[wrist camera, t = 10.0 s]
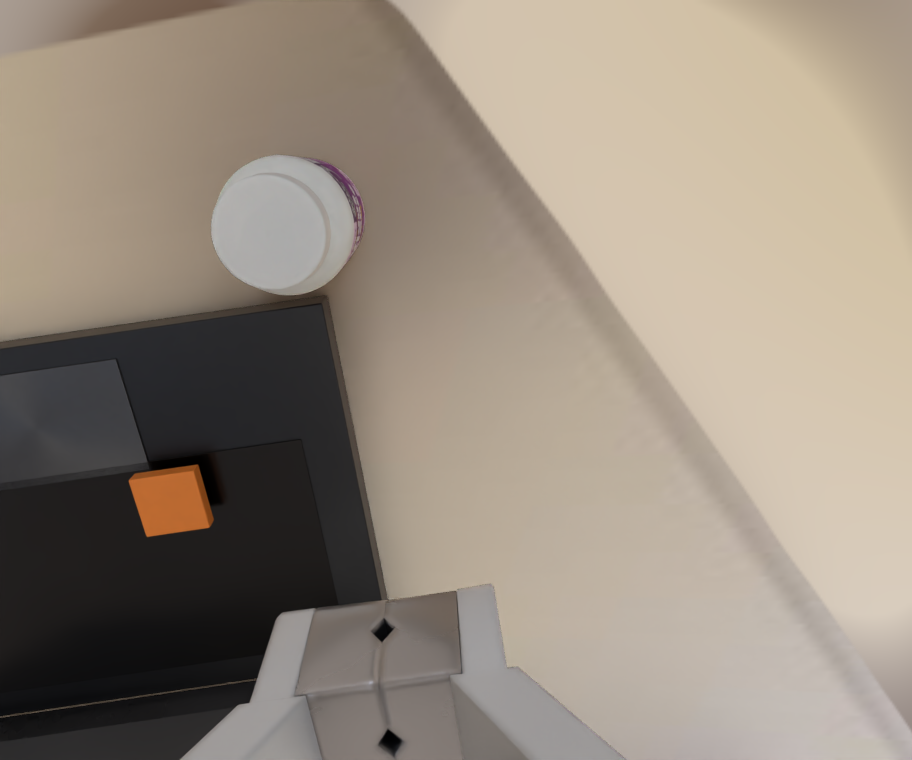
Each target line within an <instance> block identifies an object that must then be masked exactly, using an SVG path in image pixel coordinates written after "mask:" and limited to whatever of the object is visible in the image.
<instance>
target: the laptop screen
mask: <svg viewBox="0 0 912 760" xmlns="http://www.w3.org/2000/svg"><path fill="white" fill-rule="evenodd" d="M256 681H257V680H256ZM256 681H250V682H243V683H236V684H229V685H222V686H216V687H209V688H202V689H195V690H188V691H182V692H175V693H168V694H161V695H154V696H148V697H141V698H134V699H127V700H120V701H114V702H107V703H100V704H93V705H86V706H80V707H73V708H66V709H59V710H52V711H46V712H39V713H32V714H25V715H18V716H12V717H5V718H0V760H180V759H181V758H182V757H183V756H184V755H185V754H186V753H187V752H188V751H190V750H191V749H192V748H193V747H194V746H195V745H196V744H197V743H198V742H199V741H200V740H201V739H202V738H203V737H204V736H206V735H207V734H208V733H209V732H210V731H211V730H212V729H213V728H214V727H215V726H216V725H217V724H218V723H219V722H220V721H222V720H223V719H224V718H225V717H226V716H227V715H228V714H229V713H230V712H231V711H232V710H233V709H234V708H235V707H236V706H237V705H240V704H246V703H250V700H251V696H252V693H253V690H254V687H255V684H256Z"/></svg>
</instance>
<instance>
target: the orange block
mask: <svg viewBox="0 0 912 760" xmlns="http://www.w3.org/2000/svg"><path fill="white" fill-rule="evenodd" d="M129 484H130V487H131V490H132V493H133V496H134V499H135V502H136V506H137V509H138V512H139V515H140V518H141V521H142V524H143V527H144V530H145V533H146V536H147V537H150V536H157V535H164V534H170V533H177V532H184V531H191V530H198V529H205V528H209V527H210V526H211V524H212V523H213V521H214V518H213V515H212V511H211V508H210V504H209V501H208V497H207V494H206V490H205V487H204V483H203V480H202V476H201V473H200V469H199V466H198V465H191V466H184V467H177V468H170V469H163V470H156V471H149V472H142V473H135V474H134V475H133V476H132V477H131V478H130V479H129Z"/></svg>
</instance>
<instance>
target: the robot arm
mask: <svg viewBox="0 0 912 760" xmlns="http://www.w3.org/2000/svg"><path fill="white" fill-rule="evenodd" d="M180 760H626V759H625V758H624V757H623V756H622V755H621V754H619V753H618V752H617V751H616V750H615V749H614V748H612V747H611V746H610V745H609V744H608V743H607V742H605V741H604V740H603V739H602V738H601V737H600V736H598V735H597V734H596V733H595V732H594V731H593V730H591V729H590V728H589V727H588V726H587V725H586V724H584V723H583V722H582V721H581V720H580V719H579V718H577V717H576V716H575V715H574V714H573V713H572V712H570V711H569V710H568V709H567V708H566V707H565V706H563V705H562V704H561V703H560V702H559V701H558V700H556V699H555V698H554V697H553V696H552V695H551V694H549V693H548V692H547V691H546V690H545V689H544V688H542V687H541V686H540V685H539V684H538V683H537V682H535V681H534V680H533V679H532V678H531V677H530V676H528V675H527V674H526V673H525V672H524V671H523V670H521V669H520V668H519V667H510V668H507V665H506V659H505V652H504V646H503V640H502V634H501V628H500V621H499V615H498V609H497V603H496V597H495V590H494V587H493V585H492V584H485V585H479V586H473V587H467V588H461V589H457V591H450V592H443V593H436V594H429V595H422V596H415V597H408V598H400V599H393V600H381V601H372V602H363V603H354V604H346V605H337V606H328V607H319V608H317V609H315V608H312V609H305V610H297V611H289V612H282V613H281V614H280V615H279V616H278V617H277V619H276V621H275V624H274V627H273V630H272V633H271V636H270V640H269V643H268V646H267V649H266V652H265V655H264V659H263V662H262V665H261V668H260V671H259V674H258V678H257V681H256V684H255V687H254V690H253V693H252V696H251V700H250V703H246V704H240V705H237V706H236V707H235V708H234V709H233V710H232V711H231V712H230V713H229V714H228V715H227V716H226V717H225V718H224V719H223V720H222V721H220V722H219V723H218V724H217V725H216V726H215V727H214V728H213V729H212V730H211V731H210V732H209V733H208V734H207V735H206V736H204V737H203V738H202V739H201V740H200V741H199V742H198V743H197V744H196V745H195V746H194V747H193V748H192V749H191V750H190V751H188V752H187V753H186V754H185V755H184V756H183V757H182V758H181V759H180Z"/></svg>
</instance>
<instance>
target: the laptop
mask: <svg viewBox="0 0 912 760" xmlns="http://www.w3.org/2000/svg"><path fill="white" fill-rule="evenodd" d="M191 465H198V466H199V469H200V473H201V476H202V480H203V483H204V487H205V490H206V494H207V497H208V501H209V504H210V508H211V511H212V515H213V518H214V521H213V523H212V524H211V526H210V527H209V528H205V529H198V530H191V531H184V532H177V533H170V534H164V535H157V536H150V537H147V536H146V533H145V530H144V527H143V524H142V521H141V518H140V515H139V512H138V509H137V506H136V502H135V499H134V496H133V493H132V490H131V487H130V484H129V479H130V478H131V477H132V476H133V475H134V474H135V473H142V472H149V471H156V470H163V469H170V468H177V467H184V466H191ZM381 600H388V599H387V594H386V589H385V584H384V579H383V574H382V569H381V564H380V559H379V554H378V549H377V544H376V539H375V534H374V529H373V524H372V519H371V514H370V509H369V503H368V498H367V493H366V488H365V483H364V478H363V473H362V468H361V463H360V458H359V453H358V448H357V443H356V438H355V433H354V428H353V423H352V418H351V413H350V408H349V402H348V397H347V392H346V387H345V382H344V377H343V372H342V367H341V362H340V357H339V352H338V347H337V342H336V337H335V332H334V327H333V322H332V317H331V312H330V307H329V302H328V297H327V296H319V297H312V298H305V299H298V300H291V301H284V302H277V303H270V304H263V305H256V306H249V307H242V308H235V309H228V310H221V311H214V312H207V313H200V314H193V315H186V316H179V317H172V318H165V319H158V320H151V321H144V322H137V323H130V324H123V325H116V326H109V327H102V328H94V329H87V330H80V331H73V332H66V333H59V334H52V335H45V336H38V337H31V338H24V339H17V340H10V341H3V342H0V716H4V715H11V714H17V713H24V712H31V711H38V710H45V709H51V708H58V707H65V706H72V705H79V704H85V703H92V702H99V701H106V700H113V699H119V698H126V697H133V696H140V695H146V694H153V693H160V692H167V691H174V690H180V689H187V688H194V687H201V686H208V685H214V684H221V683H228V682H235V681H242V680H248V679H255V678H258V674H259V671H260V668H261V665H262V662H263V659H264V655H265V652H266V649H267V646H268V643H269V640H270V636H271V633H272V630H273V627H274V624H275V621H276V619H277V617H278V616H279V615H280V614H281V613H282V612H289V611H297V610H305V609H312V608H315V609H317V608H319V607H328V606H337V605H346V604H354V603H363V602H372V601H381Z"/></svg>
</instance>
